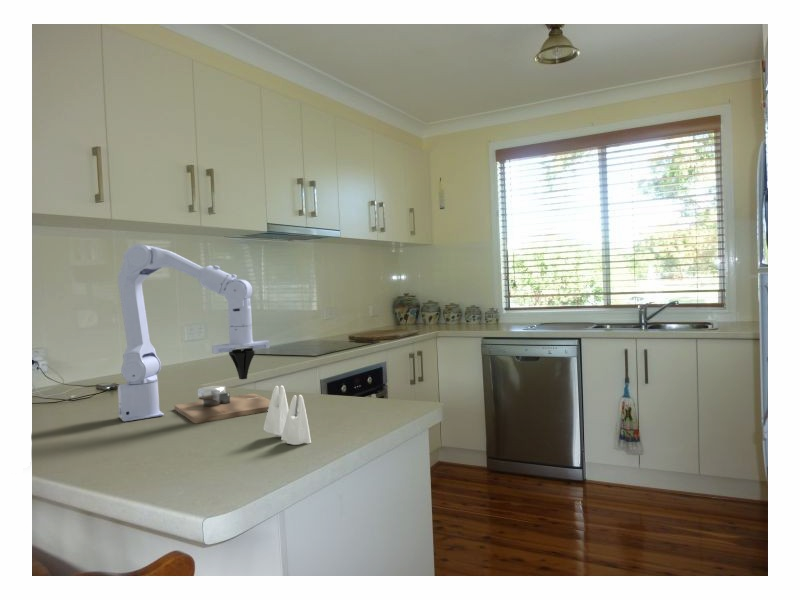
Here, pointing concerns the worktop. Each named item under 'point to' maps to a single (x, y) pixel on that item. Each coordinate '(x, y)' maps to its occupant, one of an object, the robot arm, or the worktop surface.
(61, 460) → the worktop surface
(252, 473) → the worktop surface
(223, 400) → the grey lever with knob
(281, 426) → the white slotted stand
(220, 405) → the post board
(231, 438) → the worktop surface
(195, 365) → the worktop surface
